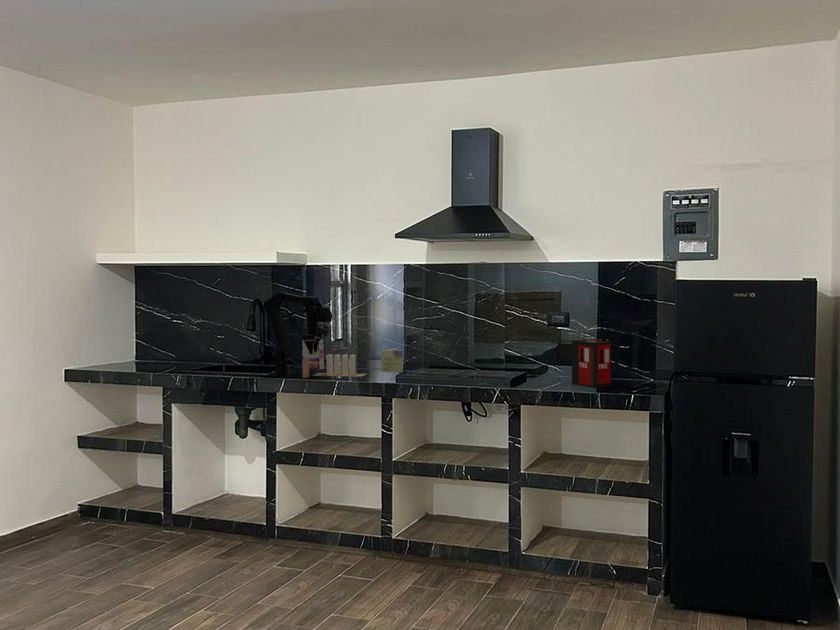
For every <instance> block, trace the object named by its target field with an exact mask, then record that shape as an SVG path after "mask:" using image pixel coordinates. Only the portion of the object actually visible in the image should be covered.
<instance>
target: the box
mask: <svg viewBox="0 0 840 630" xmlns="http://www.w3.org/2000/svg"><path fill="white" fill-rule="evenodd" d="M380 355H381V358H380V360H381V363H380V364H381V365H380V366H381V372H384V373H385V372H397V374H402V373H401V372H403V349H382V350H381V354H380Z"/></svg>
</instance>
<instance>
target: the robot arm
mask: <svg viewBox="0 0 840 630" xmlns="http://www.w3.org/2000/svg"><path fill="white" fill-rule="evenodd" d="M284 302H289V303H293V304H298V305H300V306H301V307H303V308H304V309H303V311H302V313H303V314H305V315H306V316H305V317H306V319H305V320H306V323H305V327H306V332H305V333H304V334H303V335H302V337H301V339H302V340H304V343H305V345H306V347H307V349H308V351H309V353H310V354H313V350H314V352H315V353H316V352H317V349H318V344H319V341H320V340H321V339H323V338H324V337H329V335H330V333H331V329H330V327H329V326H327V325H325V326H324V327H323V326H321V324H320V323H322V322H323V323H329V322H330V323H331V321H332V320H333V314H332V311H331V310H330V307H325V308H324V306H323V305H322V303H321V302H320V299H319V297H318V296H315V295H314V296H313V295H312V296H311V295H310V296H305V295H304V296H302V295H297V294H294V293H289V292H286V291H279V292H277V293H276V294H275V295H273V296H272V297H270V298H269V299H268V300H265V301H264V302H263V304H262V309H263V310H264V312H265V314H266V316H267V317H268V318H269V321H270V325H271V328H272V332H273V336H274V340H275V343H276V347H275V351H274V352H275V356H274V357H273V358H272V360H271V363H272V364H271V365H273V366H274V375H273V377H275V378H276V377H277V378H279V377H280V378H281V377H284V378H285V377H288V376H290V373H291V372H290V366H289V364H291V362H292V359H293V357H294V350H293V346H292V345H289V344H288V343H287V341H286V336H285V332H284V329H283V325H282V321H281V318H280V314H281V310H282V309H281V307H282V305H284ZM319 322H320V323H319ZM302 340H301V341H302Z"/></svg>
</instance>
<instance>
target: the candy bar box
mask: <svg viewBox="0 0 840 630" xmlns="http://www.w3.org/2000/svg"><path fill="white" fill-rule="evenodd" d="M301 341H302V343H301V344H302V359H305V358H309V370H314V371H315V370H316V371H317V370H321V371H322V369H323V370H325V353H324V352H325V349H324V341H325V339H323V338H322V339H321V340H320V341H319V344H318V349H317V352H316V353H315V352H314V350H313V354H310V353H309V351H308V349H307V347H306V345H305V343H304V340H301Z"/></svg>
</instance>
